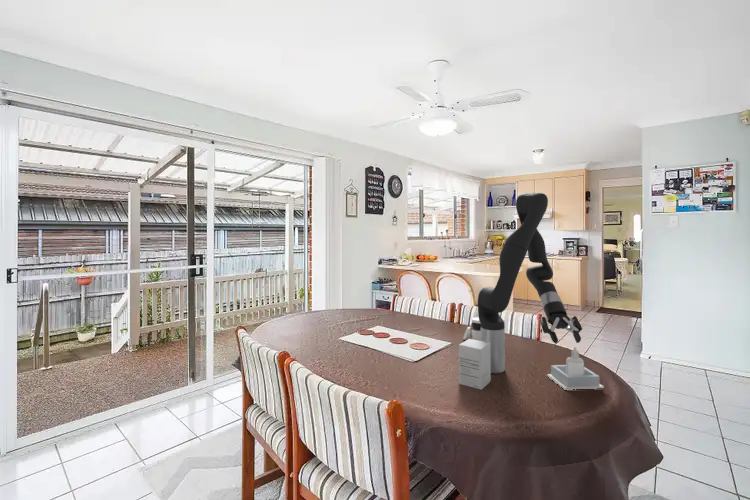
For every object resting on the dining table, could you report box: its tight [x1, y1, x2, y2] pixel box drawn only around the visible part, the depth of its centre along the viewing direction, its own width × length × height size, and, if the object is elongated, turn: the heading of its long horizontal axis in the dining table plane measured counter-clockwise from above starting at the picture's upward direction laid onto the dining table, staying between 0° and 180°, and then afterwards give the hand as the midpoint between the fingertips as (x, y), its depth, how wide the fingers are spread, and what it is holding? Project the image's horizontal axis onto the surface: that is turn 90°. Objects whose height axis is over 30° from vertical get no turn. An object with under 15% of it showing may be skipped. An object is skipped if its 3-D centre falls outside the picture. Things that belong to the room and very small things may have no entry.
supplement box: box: [458, 338, 492, 391], centre depth 136 cm, size 9×9×15 cm
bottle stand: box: [546, 364, 605, 391], centre depth 135 cm, size 14×12×4 cm
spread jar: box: [463, 316, 481, 341], centre depth 185 cm, size 12×11×12 cm
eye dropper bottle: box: [565, 346, 585, 376], centre depth 135 cm, size 4×6×12 cm
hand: (567, 342), depth 139 cm, fingers open, 8 cm apart
